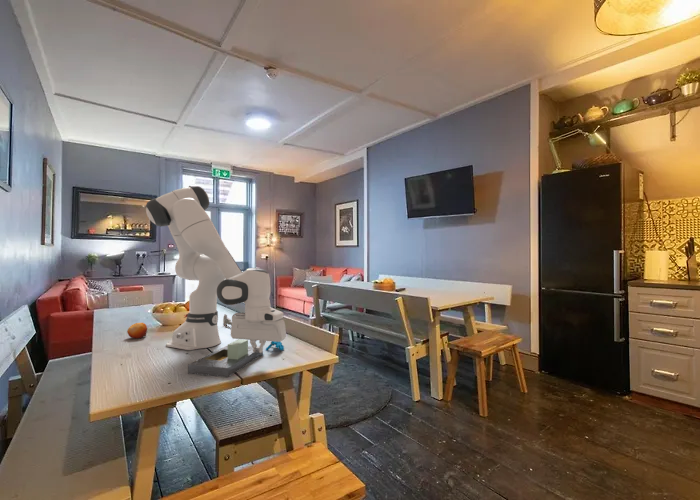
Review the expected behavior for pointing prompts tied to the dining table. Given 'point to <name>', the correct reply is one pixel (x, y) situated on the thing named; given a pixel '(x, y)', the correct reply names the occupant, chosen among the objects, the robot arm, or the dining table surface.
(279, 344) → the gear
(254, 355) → the pocket plate
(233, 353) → the block
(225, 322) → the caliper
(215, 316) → the robot arm
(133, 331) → the fruit
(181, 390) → the dining table surface
